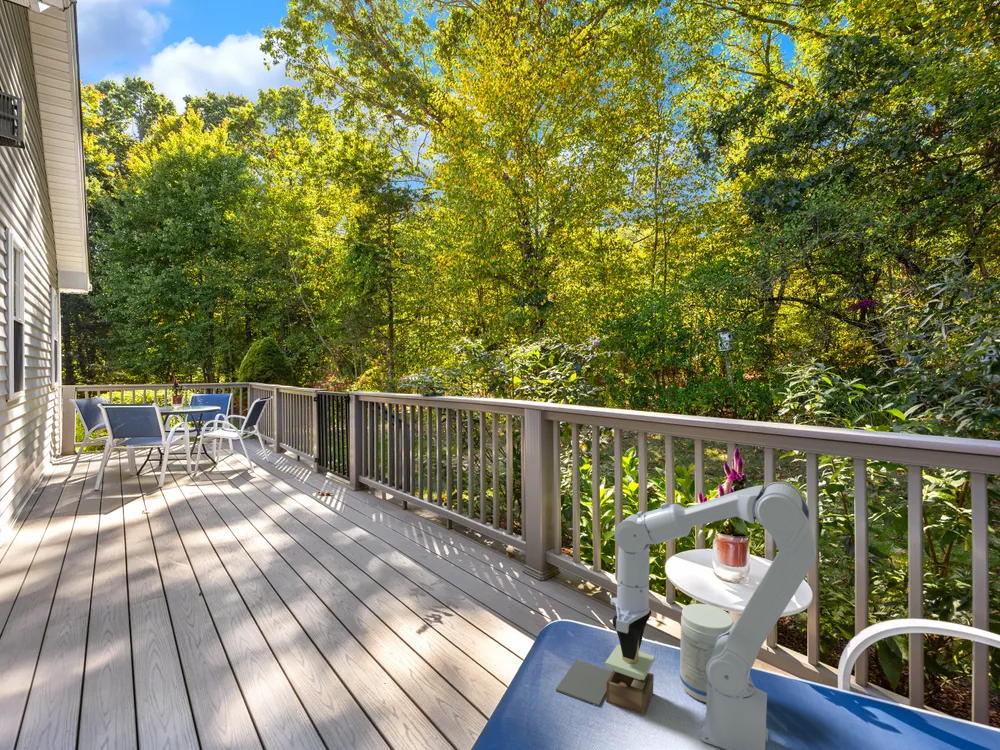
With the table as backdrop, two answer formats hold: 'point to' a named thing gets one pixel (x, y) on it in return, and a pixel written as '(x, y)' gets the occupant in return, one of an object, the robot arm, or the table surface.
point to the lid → (630, 663)
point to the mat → (585, 682)
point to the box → (630, 692)
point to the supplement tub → (699, 644)
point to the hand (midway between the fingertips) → (631, 652)
